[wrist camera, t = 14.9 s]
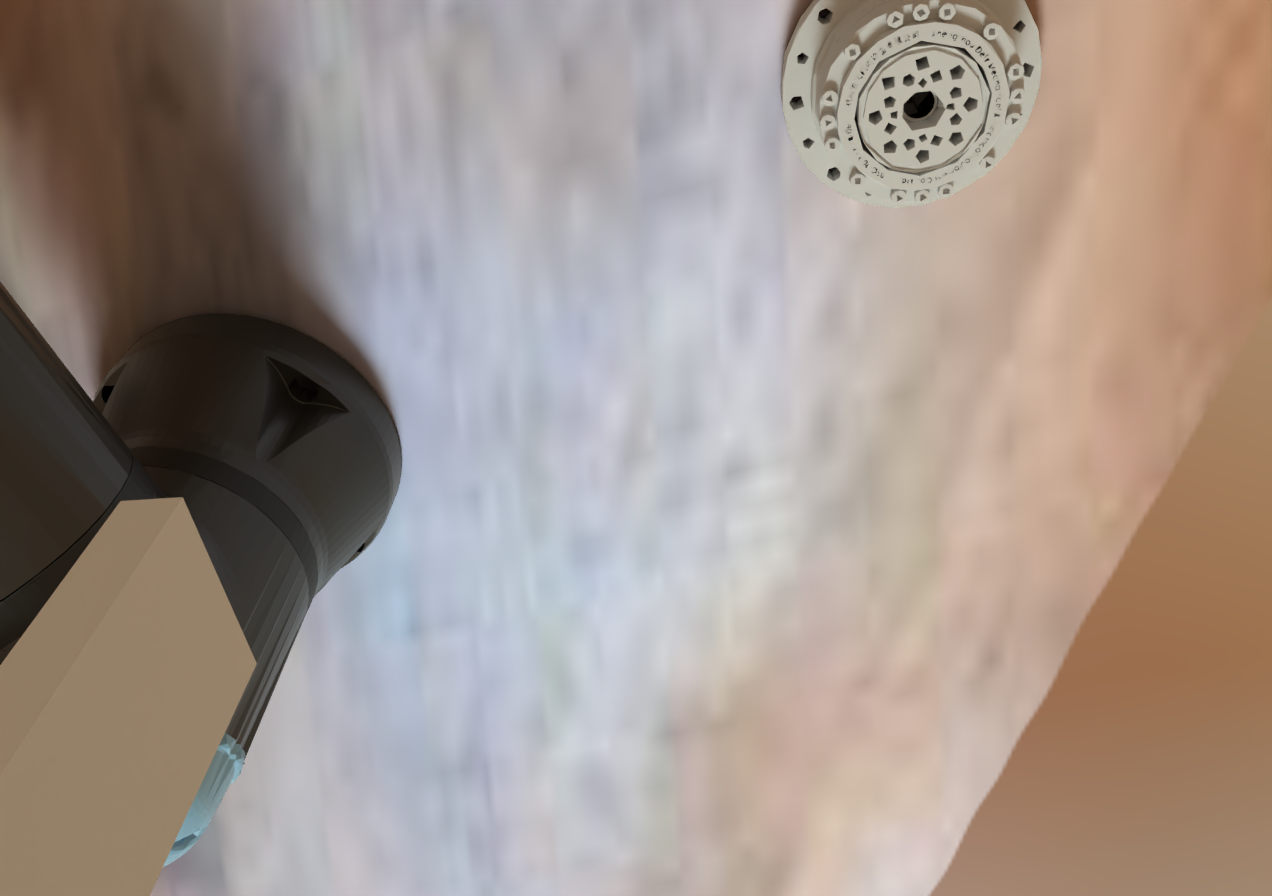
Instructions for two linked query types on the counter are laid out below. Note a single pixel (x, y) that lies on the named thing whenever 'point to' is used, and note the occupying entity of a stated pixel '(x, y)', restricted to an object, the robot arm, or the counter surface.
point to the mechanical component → (909, 93)
